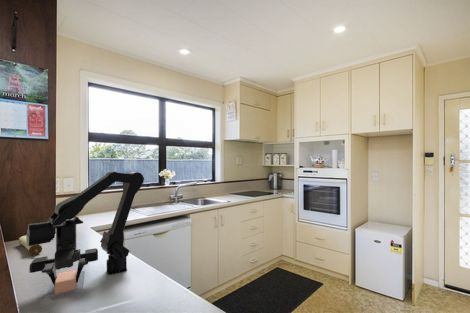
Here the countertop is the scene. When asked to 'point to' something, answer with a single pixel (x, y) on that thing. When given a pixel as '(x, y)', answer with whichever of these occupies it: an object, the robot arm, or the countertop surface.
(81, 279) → the mat
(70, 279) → the card box
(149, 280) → the countertop surface
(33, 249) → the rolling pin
